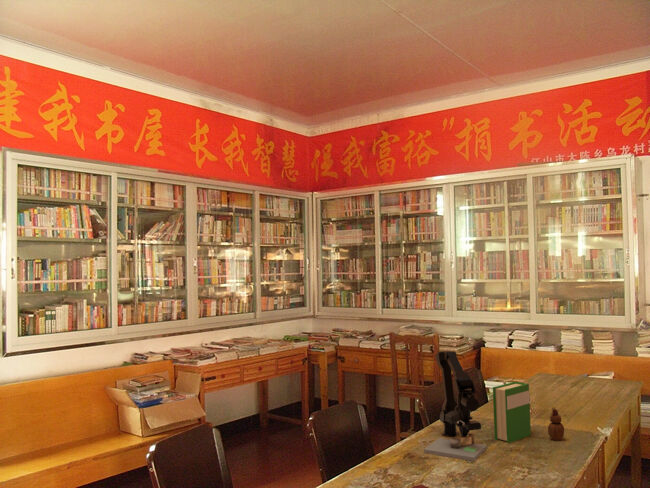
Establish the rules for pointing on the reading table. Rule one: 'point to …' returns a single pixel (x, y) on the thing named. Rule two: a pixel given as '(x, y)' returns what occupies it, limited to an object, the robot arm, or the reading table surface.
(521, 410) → the hardback book
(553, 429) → the wooden figurine
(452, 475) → the reading table surface
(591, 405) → the reading table surface
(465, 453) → the dial plate
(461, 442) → the lever
